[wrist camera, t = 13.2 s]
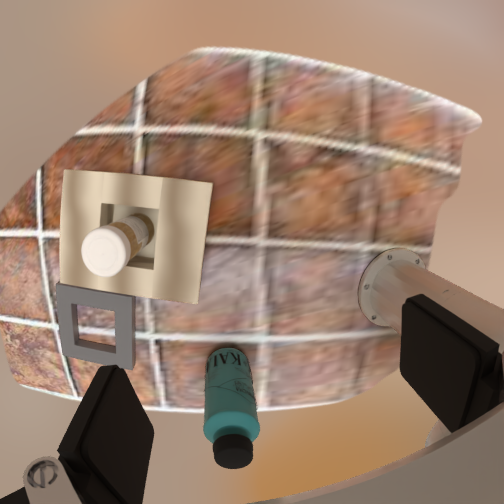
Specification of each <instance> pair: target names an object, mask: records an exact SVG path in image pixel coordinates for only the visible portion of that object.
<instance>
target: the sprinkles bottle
mask: <svg viewBox="0 0 504 504" xmlns="http://www.w3.org/2000/svg"><path fill="white" fill-rule="evenodd" d="M153 236H154V225H153V223H152V221H151V219H150V218H149V217H148V216H146V215H145V214H142V213H133V214H131V215H129V216H128V217H125V218H122V219H120V220H117V221H115V222H112V223H110V224H109V225H105V226H101V227H98V228H96V229H94V230H92V231H91V232H89V233H88V234H87V236H86V237H85V239H84V241H83V243H82V248H81V253H82V259H83V261H84V264H85V265H86V267H87V268H88V269H89V270H90V271H91V272H92V273H93V274H95V275H97V276H100V277H111V276H114V275H116V274H117V273H119V272H120V271H121V270H122V269H123V268H124V267H125V266H126V265H127V263H128V261H129V260H130V259H131V258H133V257H134V256H135V255H136V254H137V253H138V252H140V251H141V250H142V249H143V248H144V247H145V246H146V245H148V244H149V243H150V242H151V240H152V239H153Z"/></svg>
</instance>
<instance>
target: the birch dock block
mask: <svg viewBox="0 0 504 504" xmlns="http://www.w3.org/2000/svg"><path fill="white" fill-rule="evenodd" d="M212 190H213V183H211V182H203V181H195V180H187V179H178V178H169V177H160V176H150V175H140V174H129V173H117V172H105V171H91V170H64V177H63V187H62V200H61V217H60V283H63V284H69V285H74V286H79V287H85V288H91V289H97V290H102V291H108V292H115V293H121V294H127V295H134V296H140V297H147V298H154V299H161V300H168V301H176V302H183V303H191V304H198V298H199V292H200V284H201V275H202V267H203V258H204V250H205V242H206V234H207V226H208V219H209V211H210V204H211V197H212ZM133 213H142V214H145V215H146V216H148V217H149V218H150V219H151V221H152V223H153V225H154V236H153V239H152V240H151V242H150V243H149V244H148V245H146V246H145V247H144V248H143V249H142V250H141V251H140V252H138V253H137V254H136V255H135V256H134V257H133V258H131V259H130V260H129V261H128V263H127V265H126V266H125V267H124V268H123V269H122V270H121V271H120V272H119V273H117V274H116V275H114V276H111V277H100V276H97V275H95V274H93V273H92V272H91V271H90V270H89V269H88V268H87V267H86V265H85V264H84V261H83V259H82V253H81V248H82V243H83V241H84V239H85V237H86V236H87V234H88V233H89V232H91V231H92V230H94V229H96V228H98V227H101V226H105V225H109V224H110V223H112V222H115V221H117V220H120V219H122V218H125V217H128V216H129V215H131V214H133Z"/></svg>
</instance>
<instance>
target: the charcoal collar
mask: <svg viewBox="0 0 504 504" xmlns="http://www.w3.org/2000/svg"><path fill="white" fill-rule="evenodd" d="M56 298H57V311H58V321H59V331H60V339H61V346H62V353H63V355H64V356H68V357H72V358H76V359H80V360H85V361H89V362H94V363H98V364H103V365H118V366H119V368H123V369H128V370H133V368H134V366H135V296H134V295H127V294H121V293H115V292H108V291H102V290H97V289H91V288H85V287H79V286H74V285H69V284H63V283H60V281H59V282H58V283H56ZM77 304H78V305H83V306H88V307H93V308H99V309H104V310H110V311H115V338H116V346H111V345H106V344H101V343H96V342H91V341H86V340H82V339H79V332H78V319H77Z"/></svg>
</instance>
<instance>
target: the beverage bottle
mask: <svg viewBox="0 0 504 504" xmlns="http://www.w3.org/2000/svg"><path fill="white" fill-rule="evenodd" d="M205 368H206V372H205V373H206V375H205V376H206V380H205V389H204V391H205V395H204V396H205V412H204V427H203V431H204V434H205V436H206V438H207V439H208V440H209V441H210V442H212V443H213V452H214V459H215V461H216V463H217V464H218V465H220V466H221V467H224V468H228V469H238V468H242V467H245V466H247V465H248V464H250V463H251V461H252V459H253V444H252V442H253V441H254V440H255V439H256V438H257V437H258V435H259V432H260V425H259V422H258V417H257V411H256V410H257V409H256V403H257V402H256V401H255V397H254V392H253V386H252V385H253V380H252V379H251V376H252V373H251V374H250V372H251V369H250V366H249V362H248V359H247V358H246V356H245V355H244V354H243V353H242V352H240V351H239V350H237V349H234V348H222V349H219V350H217V351H215V352H214V353H212V354H211V355H210V356H209V358H208V360H207V364H206V366H205ZM255 402H256V403H255ZM257 408H258V407H257Z"/></svg>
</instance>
